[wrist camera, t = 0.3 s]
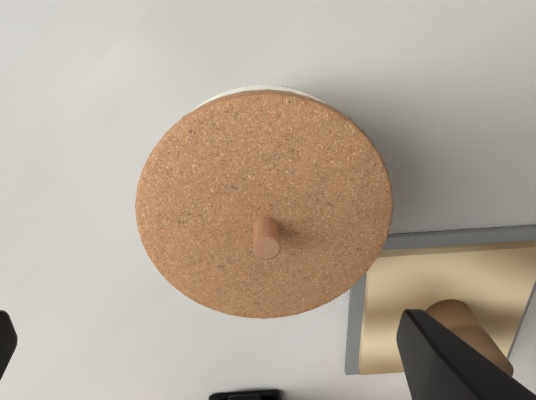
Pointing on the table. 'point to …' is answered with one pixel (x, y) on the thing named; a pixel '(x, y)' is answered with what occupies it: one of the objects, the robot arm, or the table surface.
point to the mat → (420, 242)
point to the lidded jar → (264, 203)
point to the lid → (448, 298)
